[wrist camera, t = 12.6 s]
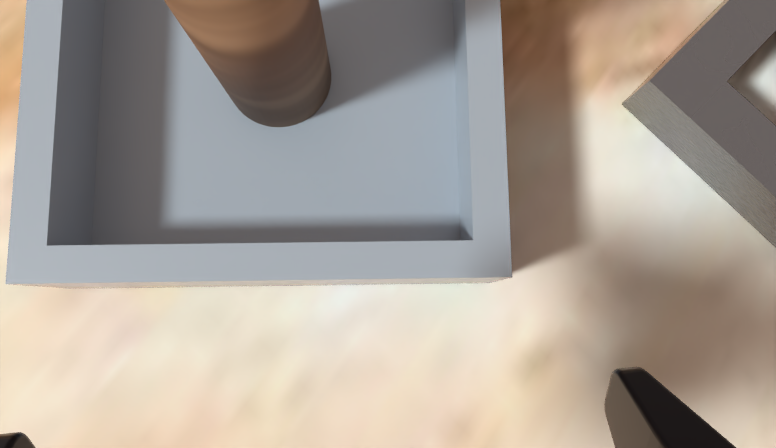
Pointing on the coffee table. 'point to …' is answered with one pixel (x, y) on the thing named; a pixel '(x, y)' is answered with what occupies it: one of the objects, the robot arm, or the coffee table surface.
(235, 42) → the pin
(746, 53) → the gray square socket plate
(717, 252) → the coffee table surface
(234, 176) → the tray
